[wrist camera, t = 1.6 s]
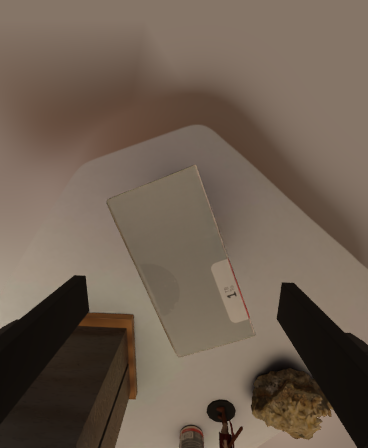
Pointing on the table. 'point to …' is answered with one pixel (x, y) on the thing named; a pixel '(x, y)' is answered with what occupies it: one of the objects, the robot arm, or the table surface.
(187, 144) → the table surface
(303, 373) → the mineral specimen
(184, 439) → the pill bottle
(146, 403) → the table surface
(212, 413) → the figurine
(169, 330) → the hard drive box
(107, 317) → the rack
